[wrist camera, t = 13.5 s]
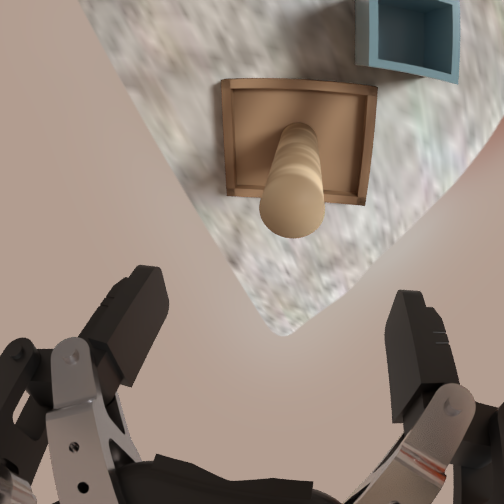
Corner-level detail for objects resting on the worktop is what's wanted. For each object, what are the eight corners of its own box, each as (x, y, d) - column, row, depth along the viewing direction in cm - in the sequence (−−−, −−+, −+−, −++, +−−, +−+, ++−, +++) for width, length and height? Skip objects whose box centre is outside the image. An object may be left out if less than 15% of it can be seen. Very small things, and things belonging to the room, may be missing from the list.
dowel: (317, 123, 26) (327, 182, 14) (316, 157, 27) (321, 240, 16) (281, 121, 26) (259, 177, 15) (280, 155, 28) (259, 236, 17)
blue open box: (427, 10, 18) (459, -1, 12) (425, 77, 22) (458, 84, 16) (354, -4, 19) (368, -23, 13) (354, 65, 23) (368, 66, 17)
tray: (374, 86, 23) (377, 87, 22) (362, 198, 29) (364, 205, 28) (225, 78, 25) (220, 80, 24) (230, 189, 31) (226, 195, 30)
